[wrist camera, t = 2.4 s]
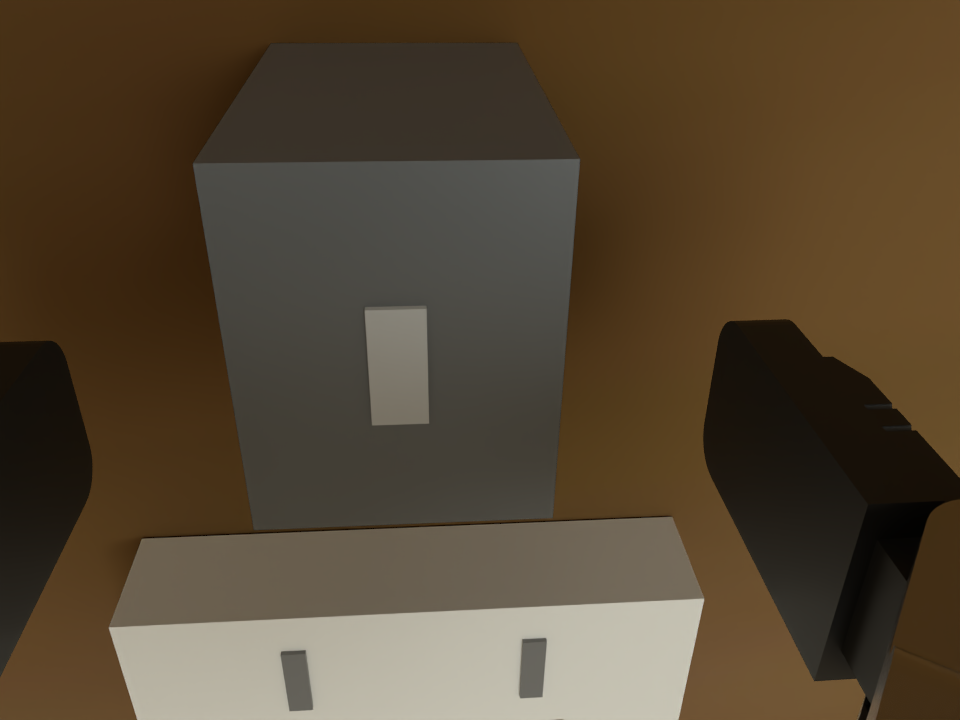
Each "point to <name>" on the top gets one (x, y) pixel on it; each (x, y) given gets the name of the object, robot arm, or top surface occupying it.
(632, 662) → the outlet plate
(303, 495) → the block
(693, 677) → the top surface
